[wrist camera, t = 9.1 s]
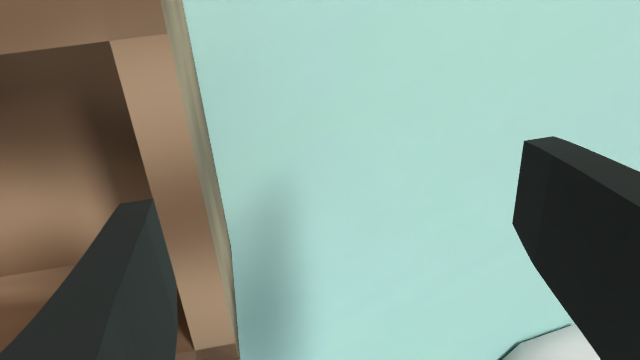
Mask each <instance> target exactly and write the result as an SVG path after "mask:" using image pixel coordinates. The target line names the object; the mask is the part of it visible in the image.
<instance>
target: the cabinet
mask: <svg viewBox="0 0 640 360" xmlns="http://www.w3.org/2000/svg"><path fill="white" fill-rule="evenodd" d="M147 199H154V203H155V206H156V210H157V213H158V217H159V221H160V224H161V228H162V232H163V235H164V239H165V242H166V246H167V250H168V253H169V257H170V260H171V264H172V268H173V271H174V275H175V279H176V289H177V317H178V332H177V344H176V355H175V360H240V352H239V339H238V327H237V315H236V303H235V291H234V278H233V266H232V254H231V245H230V240H229V235H228V230H227V225H226V220H225V215H224V210H223V205H222V200H221V195H220V190H219V185H218V179H217V174H216V169H215V164H214V159H213V154H212V149H211V144H210V139H209V134H208V129H207V124H206V119H205V114H204V109H203V104H202V99H201V94H200V89H199V84H198V79H197V74H196V68H195V63H194V58H193V53H192V48H191V43H190V38H189V33H188V28H187V23H186V18H185V13H184V8H183V3H182V0H0V353H1V352H2V351H3V350H4V349H5V348H6V347H7V346H8V345H9V344H10V343H11V342H12V341H13V340H14V339H15V338H16V336H17V335H18V334H19V333H20V332H21V331H22V330H23V329H24V328H25V327H26V326H27V325H28V324H29V322H30V321H31V320H32V319H33V318H34V317H35V316H36V314H37V313H38V312H39V311H40V309H41V308H42V307H43V306H44V305H45V303H46V302H47V301H48V300H49V299H50V297H51V296H52V295H53V294H54V293H55V291H56V290H57V289H58V288H59V287H60V285H61V284H62V283H63V281H64V280H65V279H66V277H67V276H68V275H69V273H70V272H71V271H72V269H73V268H74V267H75V265H76V264H77V263H78V261H79V260H80V259H81V257H82V256H83V255H84V253H85V252H86V250H87V249H88V248H89V246H90V245H91V243H92V242H93V241H94V239H95V238H96V236H97V235H98V233H99V232H100V231H101V229H102V228H103V226H104V225H105V223H106V222H107V220H108V219H109V218H110V216H111V215H112V213H113V212H114V211H115V209H116V208H117V207H118V205H119V204H122V203H128V202H134V201H141V200H147Z"/></svg>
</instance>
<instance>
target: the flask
mask: <svg viewBox="0 0 640 360" xmlns="http://www.w3.org/2000/svg"><path fill="white" fill-rule="evenodd" d="M503 360H600V358H599V356H598V355H597V353H596V352H595V351H594V349H593V348H592V346H591V345H590V344H589V342H588V341H587V339H586V338H585V337H584V335H583V334H582V332H581V331H580V330H579V328H578V327H577V326H576V324H574V325H571V326H568V327H565V328H562V329H559V330H557V331H554V332H551V333H548V334H545V335H542V336H539V337H537V338H534V339H531V340H528V341H525V342H522V343H520V344H519V345H518V346H517V347H516V348H515V349H513V350H512V351H511V352H510V353H509V354H508V355H507V356H506V357H505V358H504V359H503Z"/></svg>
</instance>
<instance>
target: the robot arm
mask: <svg viewBox="0 0 640 360" xmlns="http://www.w3.org/2000/svg"><path fill="white" fill-rule="evenodd" d="M512 224H513V226H514V228H515V230H516V232H517V234H518V236H519V238H520V240H521V242H522V244H523V246H524V248H525V250H526V252H527V254H528V256H529V257H530V259H531V261H532V263H533V265H534V266H535V268H536V269H537V271H538V272H539V274H540V275H541V276H542V278H543V279H544V281H545V282H546V284H547V285H548V286H549V288H550V289H551V291H552V292H553V293H554V295H555V296H556V298H557V299H558V300H559V302H560V303H561V305H562V306H563V307H564V309H565V310H566V312H567V313H568V314H569V316H570V317H571V319H572V320H573V321H574V323H575V324H576V326H577V327H578V328H579V330H580V331H581V332H582V334H583V335H584V337H585V338H586V339H587V341H588V342H589V344H590V345H591V346H592V348H593V349H594V351H595V352H596V353H597V355H598V356H599V358H600V360H640V172H639V171H636V170H634V169H632V168H629V167H627V166H625V165H623V164H620V163H618V162H616V161H613V160H611V159H609V158H607V157H604V156H602V155H600V154H597V153H595V152H593V151H590V150H588V149H586V148H583V147H581V146H578V145H576V144H573V143H571V142H568V141H566V140H563V139H560V138H557V137H546V138H540V139H533V140H527V141H524V145H523V152H522V159H521V166H520V173H519V180H518V187H517V195H516V202H515V209H514V216H513V223H512ZM177 332H178V317H177V289H176V279H175V275H174V271H173V268H172V264H171V260H170V257H169V253H168V250H167V246H166V242H165V239H164V235H163V232H162V228H161V224H160V221H159V217H158V213H157V210H156V206H155V203H154V199H147V200H141V201H134V202H128V203H122V204H119V205H118V207H117V208H116V209H115V211H114V212H113V213H112V215H111V216H110V218H109V219H108V220H107V222H106V223H105V225H104V226H103V228H102V229H101V231H100V232H99V233H98V235H97V236H96V238H95V239H94V241H93V242H92V243H91V245H90V246H89V248H88V249H87V250H86V252H85V253H84V255H83V256H82V257H81V259H80V260H79V261H78V263H77V264H76V265H75V267H74V268H73V269H72V271H71V272H70V273H69V275H68V276H67V277H66V279H65V280H64V281H63V283H62V284H61V285H60V287H59V288H58V289H57V290H56V291H55V293H54V294H53V295H52V296H51V297H50V299H49V300H48V301H47V302H46V303H45V305H44V306H43V307H42V308H41V309H40V311H39V312H38V313H37V314H36V316H35V317H34V318H33V319H32V320H31V321H30V322H29V324H28V325H27V326H26V327H25V328H24V329H23V330H22V331H21V332H20V333H19V334H18V335H17V336H16V338H15V339H14V340H13V341H12V342H11V343H10V344H9V345H8V346H7V347H6V348H5V349H4V350H3V351H2V352H1V353H0V360H175V355H176V344H177Z"/></svg>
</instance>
